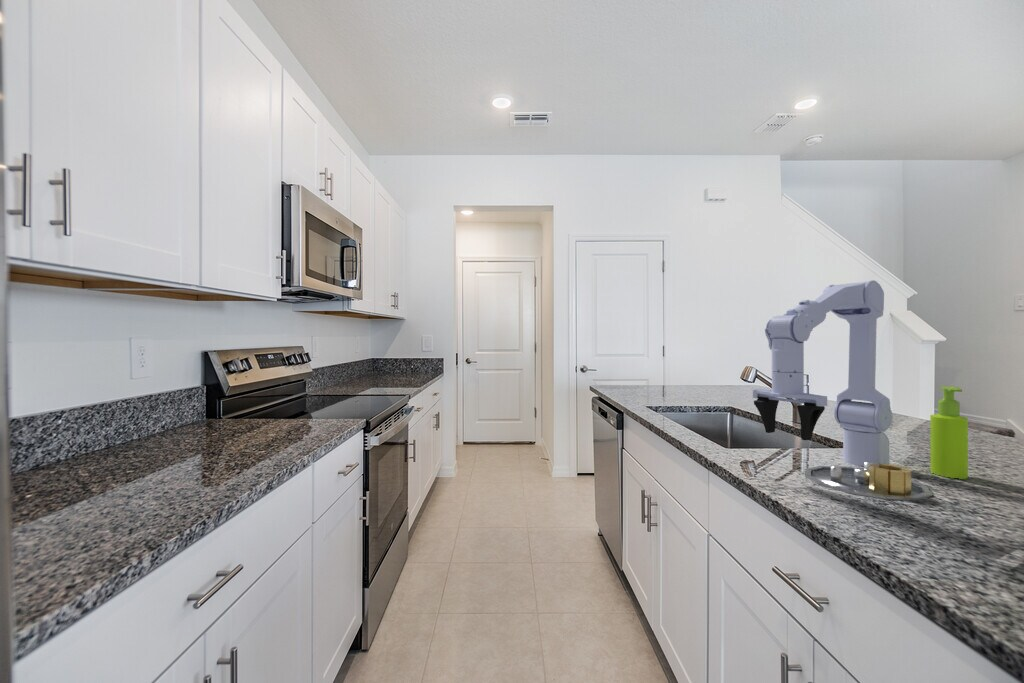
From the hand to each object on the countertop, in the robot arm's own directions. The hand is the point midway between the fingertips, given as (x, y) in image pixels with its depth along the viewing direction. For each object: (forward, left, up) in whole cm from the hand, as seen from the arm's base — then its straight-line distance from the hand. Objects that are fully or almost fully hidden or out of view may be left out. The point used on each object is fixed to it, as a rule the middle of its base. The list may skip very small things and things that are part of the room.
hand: (787, 435), depth 91 cm
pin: (-7, +5, -10) cm, 14 cm away
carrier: (-12, +8, -10) cm, 18 cm away
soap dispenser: (-38, +12, -10) cm, 41 cm away
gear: (-11, +13, -9) cm, 19 cm away
